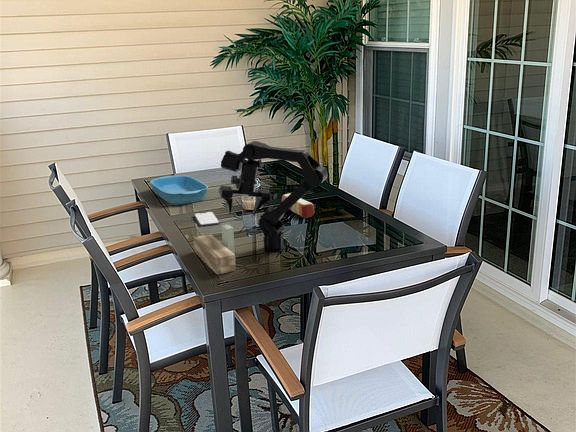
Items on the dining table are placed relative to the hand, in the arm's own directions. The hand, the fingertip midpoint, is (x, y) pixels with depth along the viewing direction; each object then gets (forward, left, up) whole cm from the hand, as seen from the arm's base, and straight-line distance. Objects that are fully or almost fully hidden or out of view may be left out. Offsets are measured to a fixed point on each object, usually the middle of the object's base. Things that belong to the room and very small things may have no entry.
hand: (241, 214), depth 215 cm
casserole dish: (+56, -55, -13) cm, 80 cm away
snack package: (-7, -46, -13) cm, 48 cm away
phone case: (+27, -24, -13) cm, 39 cm away
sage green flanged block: (+2, +15, -12) cm, 20 cm away
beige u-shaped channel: (+4, +17, -12) cm, 21 cm away
